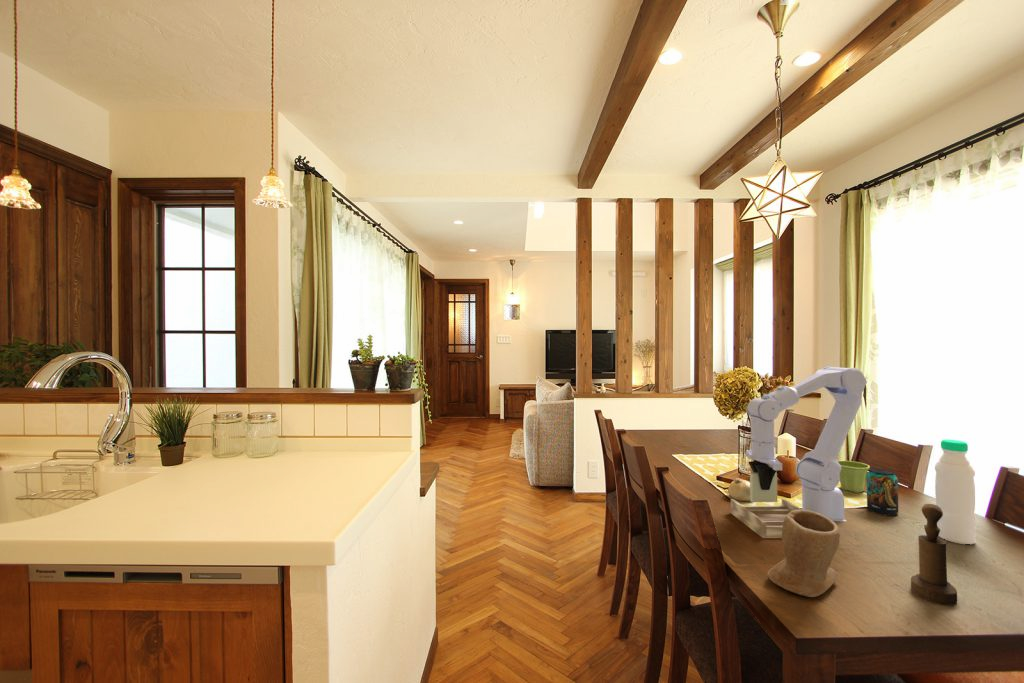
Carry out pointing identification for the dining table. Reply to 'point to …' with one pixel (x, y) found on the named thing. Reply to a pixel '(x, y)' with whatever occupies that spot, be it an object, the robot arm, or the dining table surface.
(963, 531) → the white bottle
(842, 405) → the robot arm
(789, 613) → the dining table surface
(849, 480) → the plant pot
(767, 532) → the rack
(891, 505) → the printed food package
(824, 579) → the stone cup
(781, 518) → the offcut upper
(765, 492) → the panel
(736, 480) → the onion
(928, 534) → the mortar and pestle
